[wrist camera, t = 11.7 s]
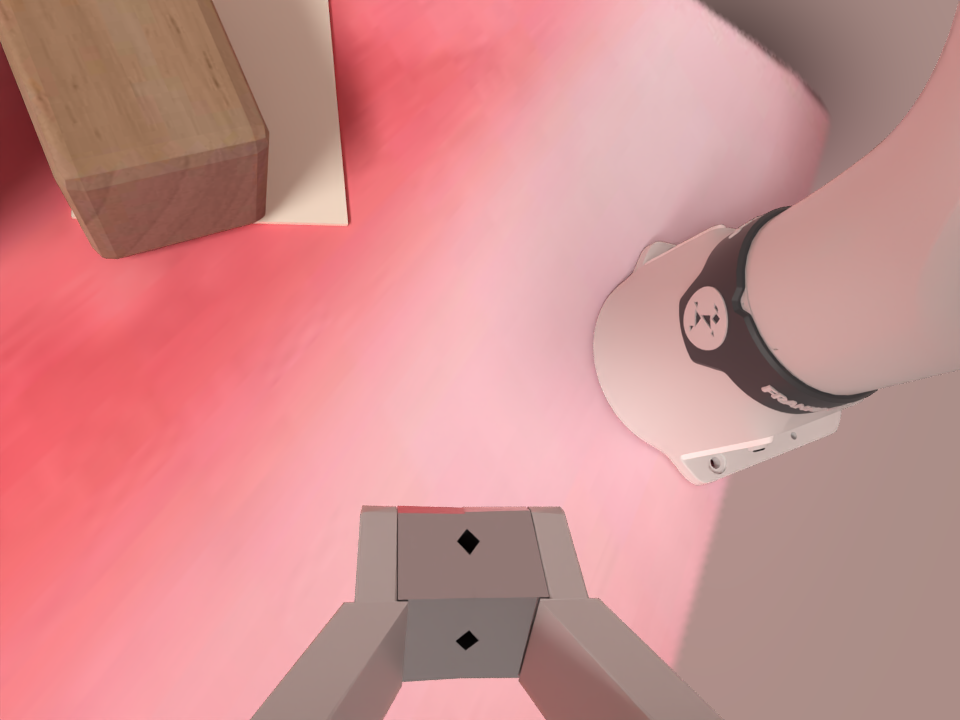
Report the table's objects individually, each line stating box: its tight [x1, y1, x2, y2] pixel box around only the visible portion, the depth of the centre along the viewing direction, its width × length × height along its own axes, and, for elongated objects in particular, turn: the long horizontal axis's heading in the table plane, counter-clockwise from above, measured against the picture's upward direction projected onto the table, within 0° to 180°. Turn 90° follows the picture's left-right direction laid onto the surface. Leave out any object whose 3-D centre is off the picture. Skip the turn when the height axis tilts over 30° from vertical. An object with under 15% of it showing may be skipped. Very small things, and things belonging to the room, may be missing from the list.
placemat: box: [71, 0, 348, 226], centre depth 43 cm, size 16×19×1 cm
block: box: [0, 0, 269, 259], centre depth 36 cm, size 10×10×20 cm
